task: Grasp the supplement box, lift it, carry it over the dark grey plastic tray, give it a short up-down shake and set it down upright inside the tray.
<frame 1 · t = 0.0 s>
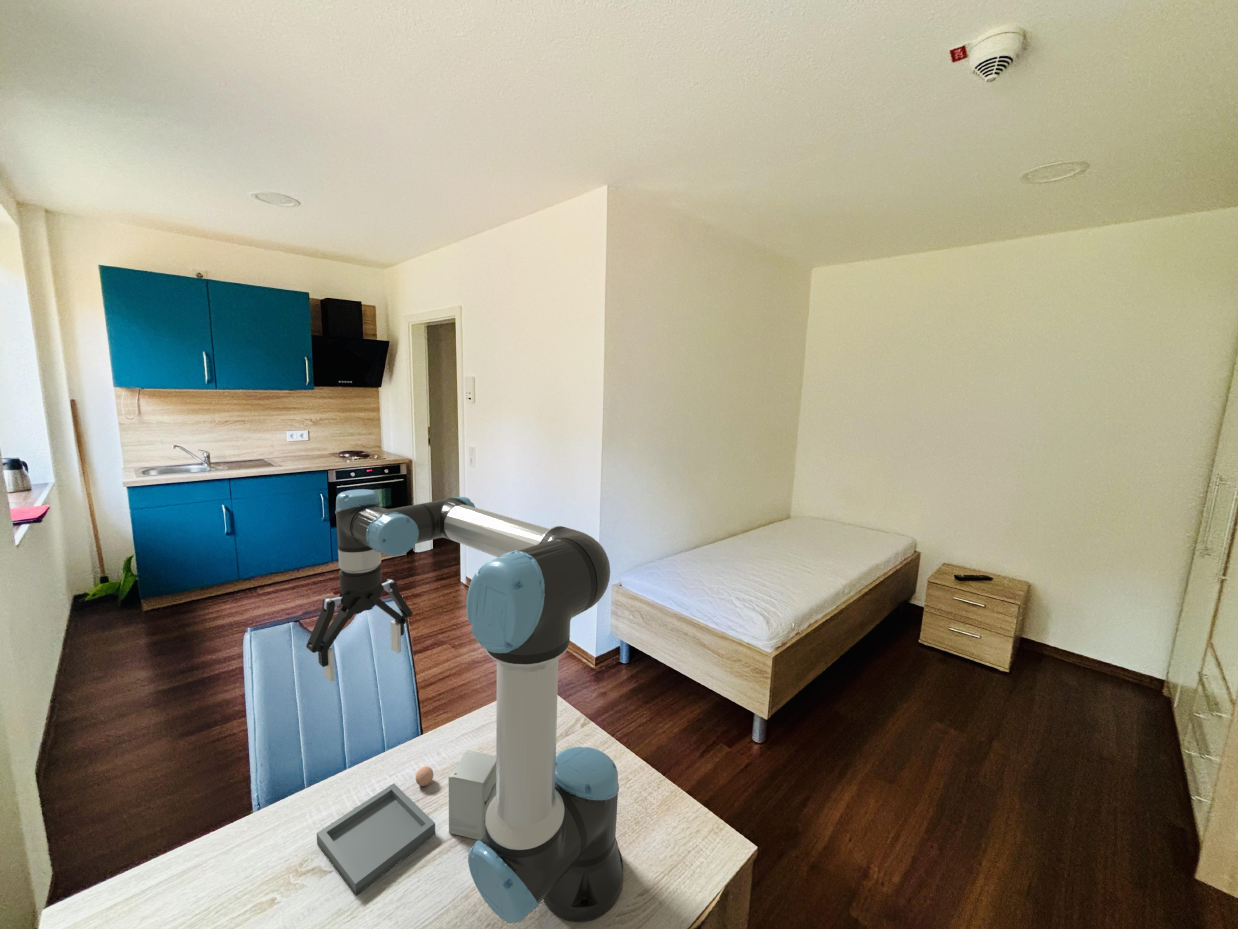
hand: (364, 664, 101), 28 cm above the table, fingers open, 13 cm apart
supplement box: (474, 822, 98), on the table
mixing ball: (424, 783, 106), on the table
tray: (377, 839, 93), on the table
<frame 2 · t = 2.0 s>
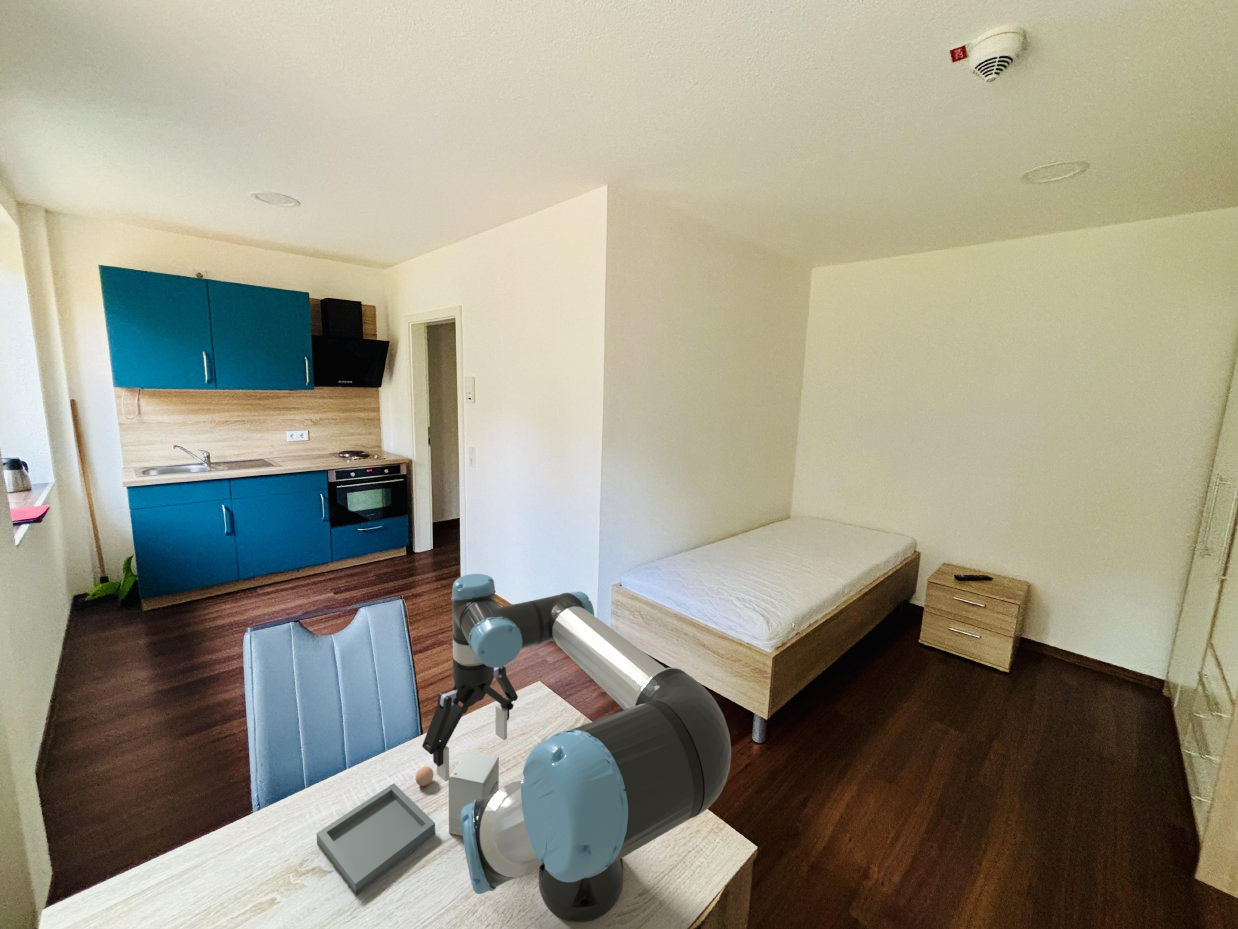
hand: (473, 755, 96), 15 cm above the table, fingers open, 13 cm apart
nothing on the table moved.
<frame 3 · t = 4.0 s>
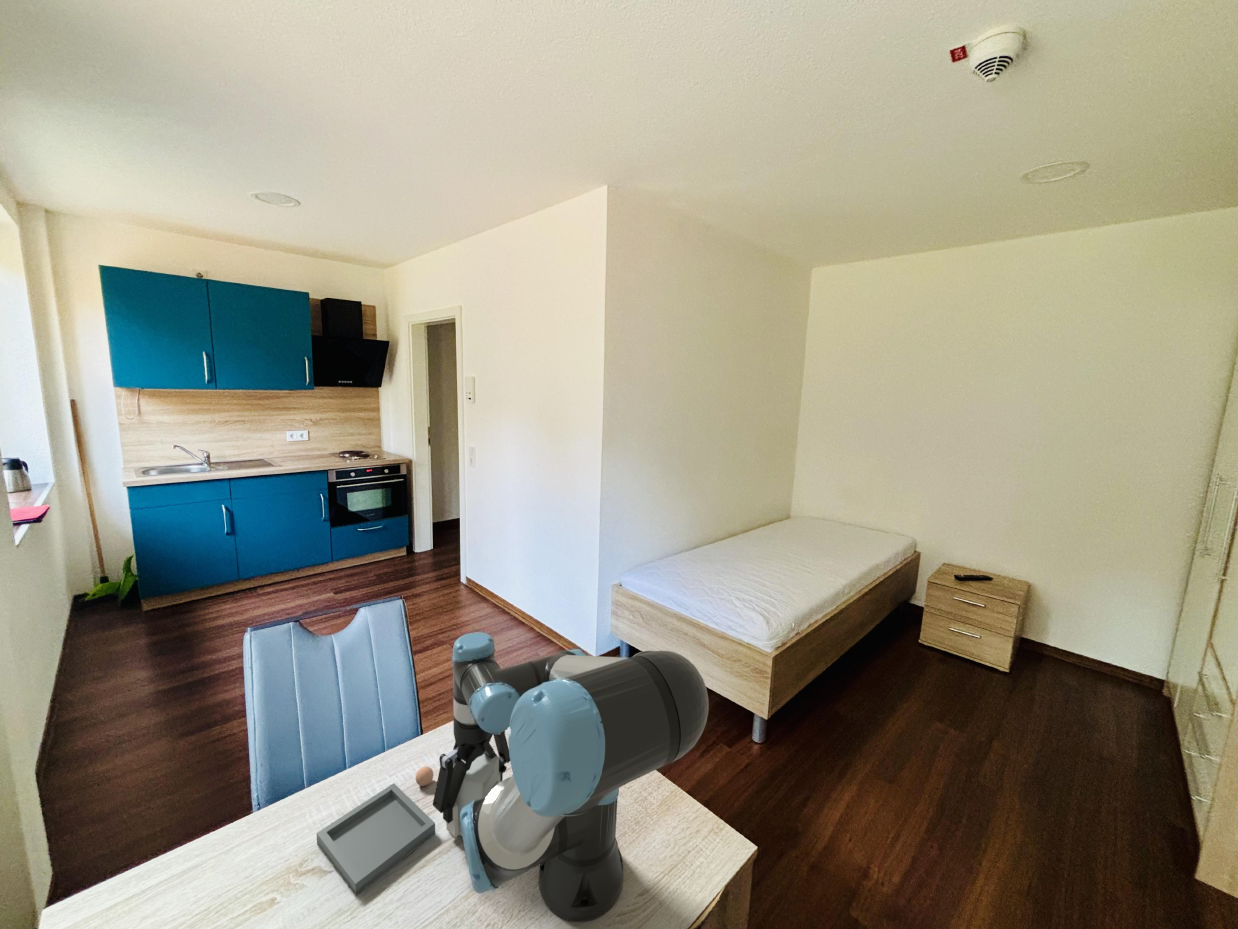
hand: (474, 814, 98), 2 cm above the table, fingers closed on supplement box, 9 cm apart
supplement box: (474, 822, 98), on the table, touching gripper
everything else where it was.
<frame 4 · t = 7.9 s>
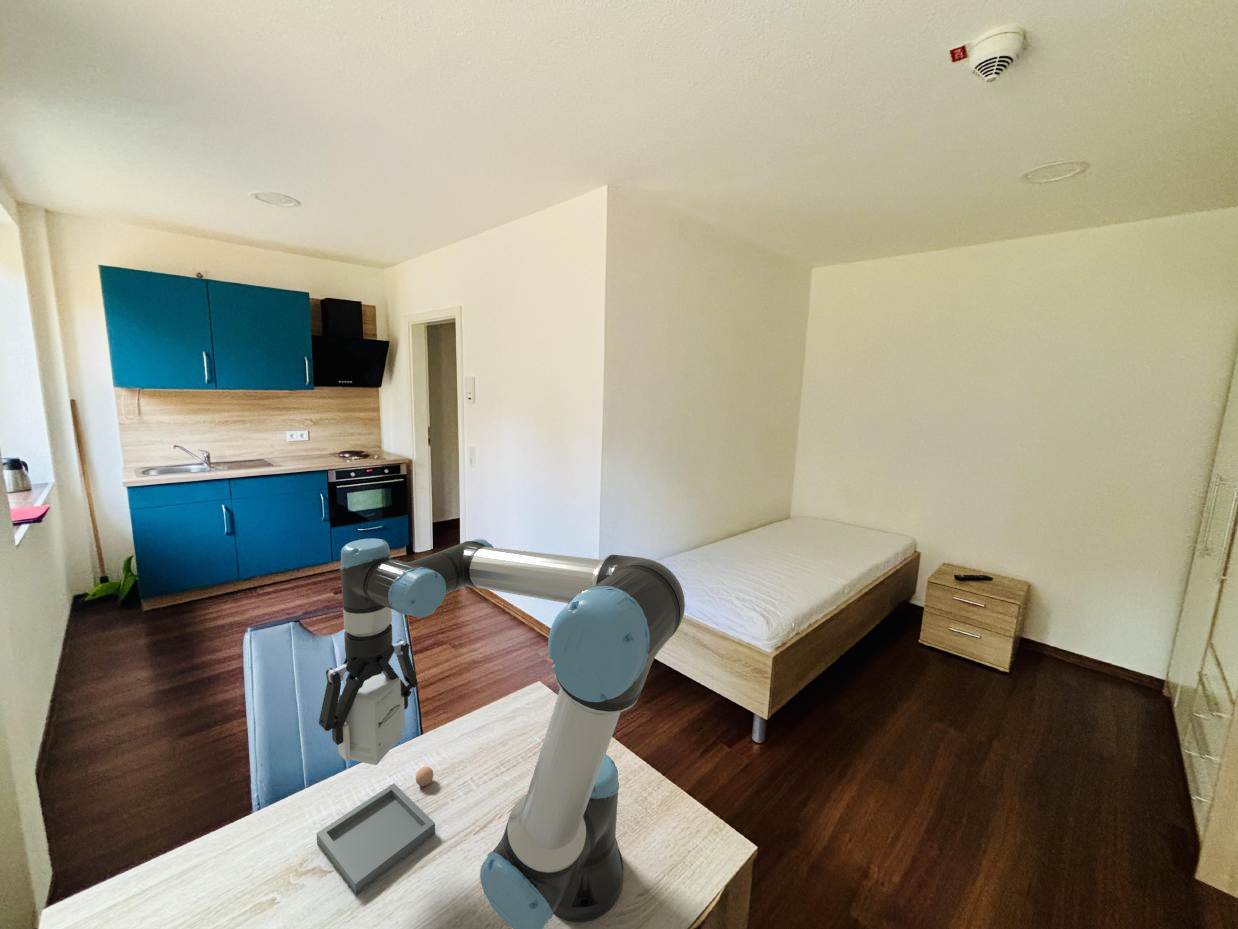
hand: (373, 740, 90), 21 cm above the table, fingers closed on supplement box, 9 cm apart
supplement box: (373, 748, 90), point 19 cm above the table, touching gripper
everything else where it was.
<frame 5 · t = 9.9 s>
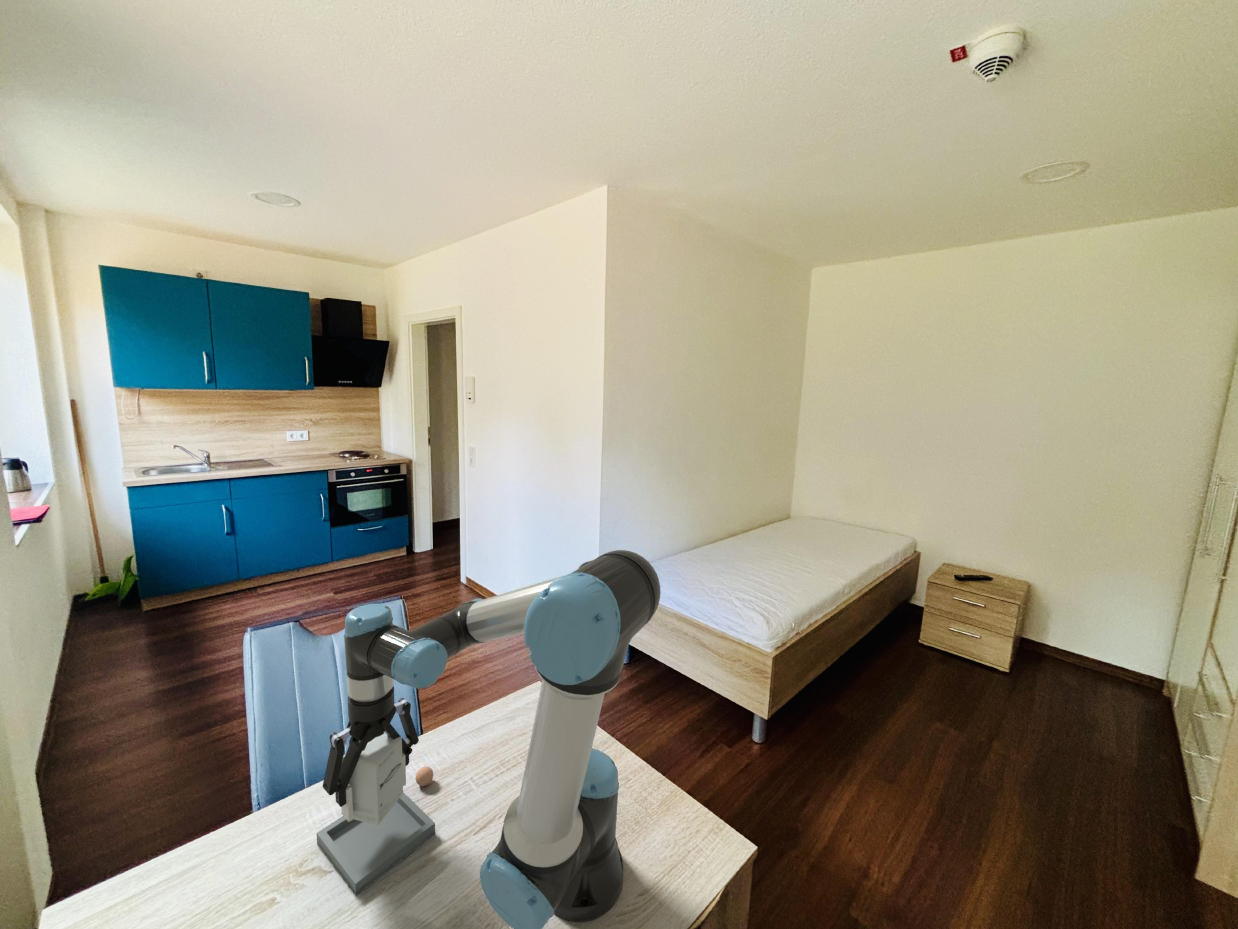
hand: (375, 798, 92), 9 cm above the table, fingers closed on supplement box, 9 cm apart
supplement box: (375, 806, 92), point 7 cm above the table, touching gripper
everything else where it was.
when the fingers open (4 cm above the table, at t = 11.8 s): supplement box drops 1 cm, resting on tray.
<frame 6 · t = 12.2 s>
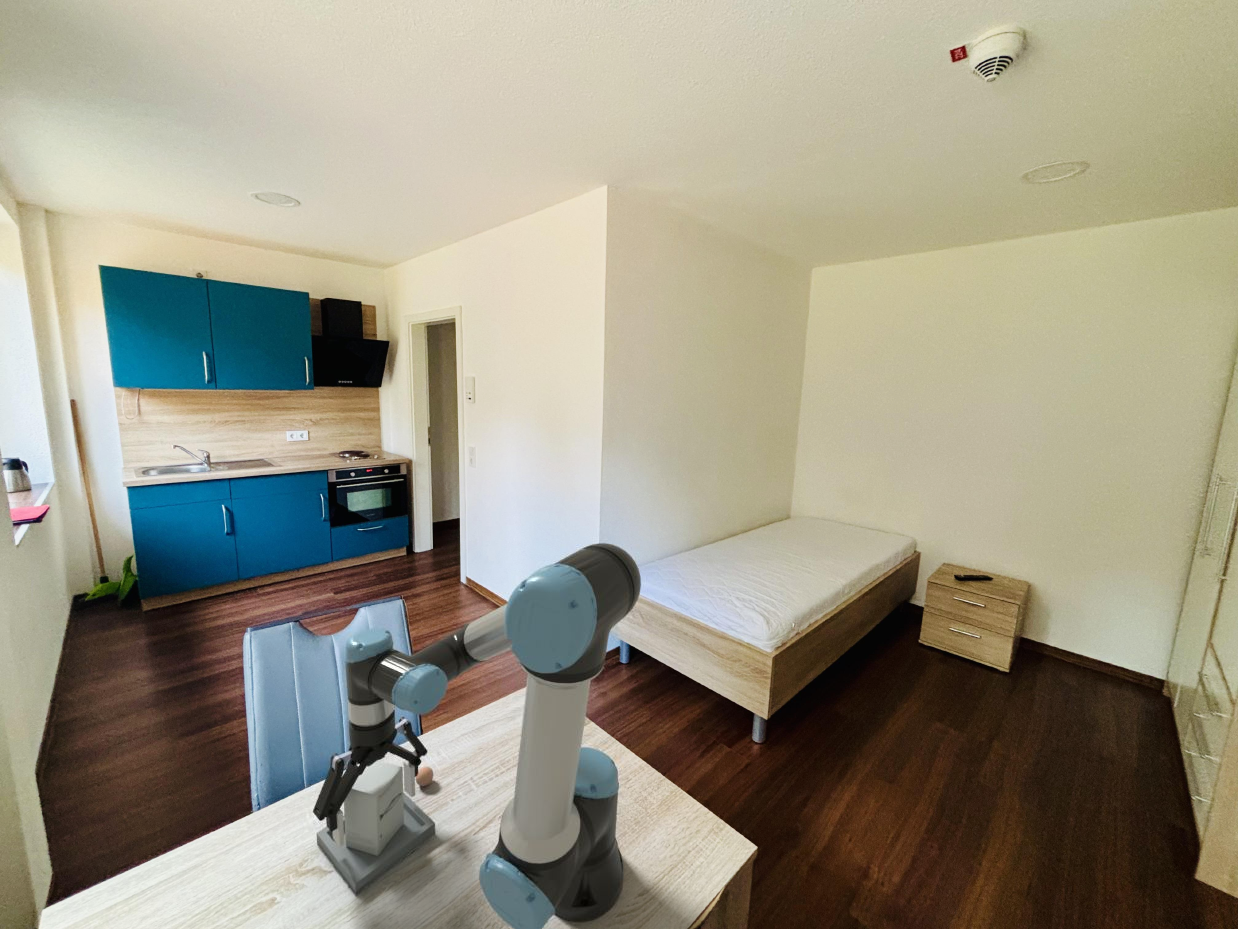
hand: (376, 815, 92), 5 cm above the table, fingers open, 13 cm apart
supplement box: (375, 835, 93), point 1 cm above the table, touching tray
everything else where it was.
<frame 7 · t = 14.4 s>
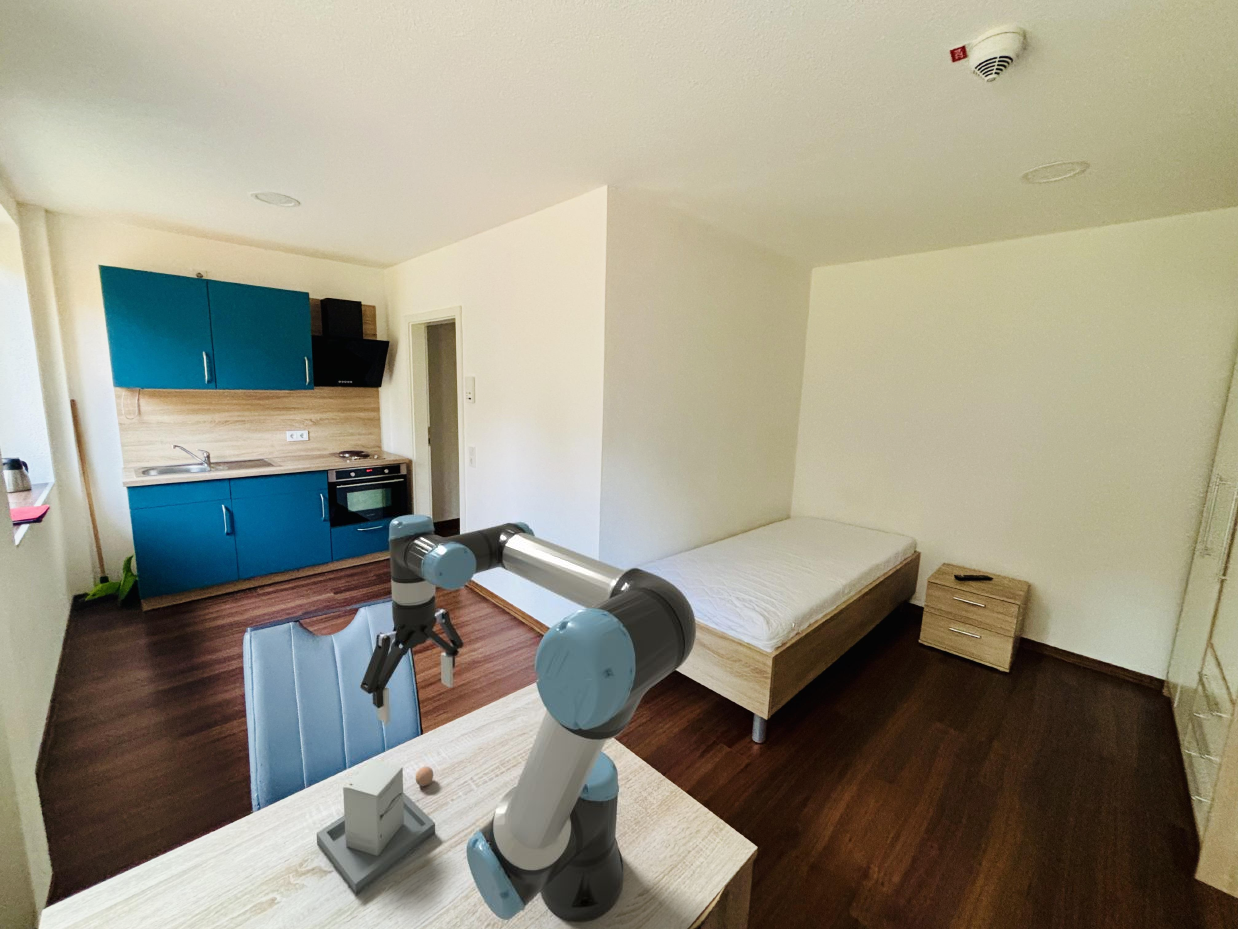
hand: (417, 701, 95), 25 cm above the table, fingers open, 13 cm apart
nothing on the table moved.
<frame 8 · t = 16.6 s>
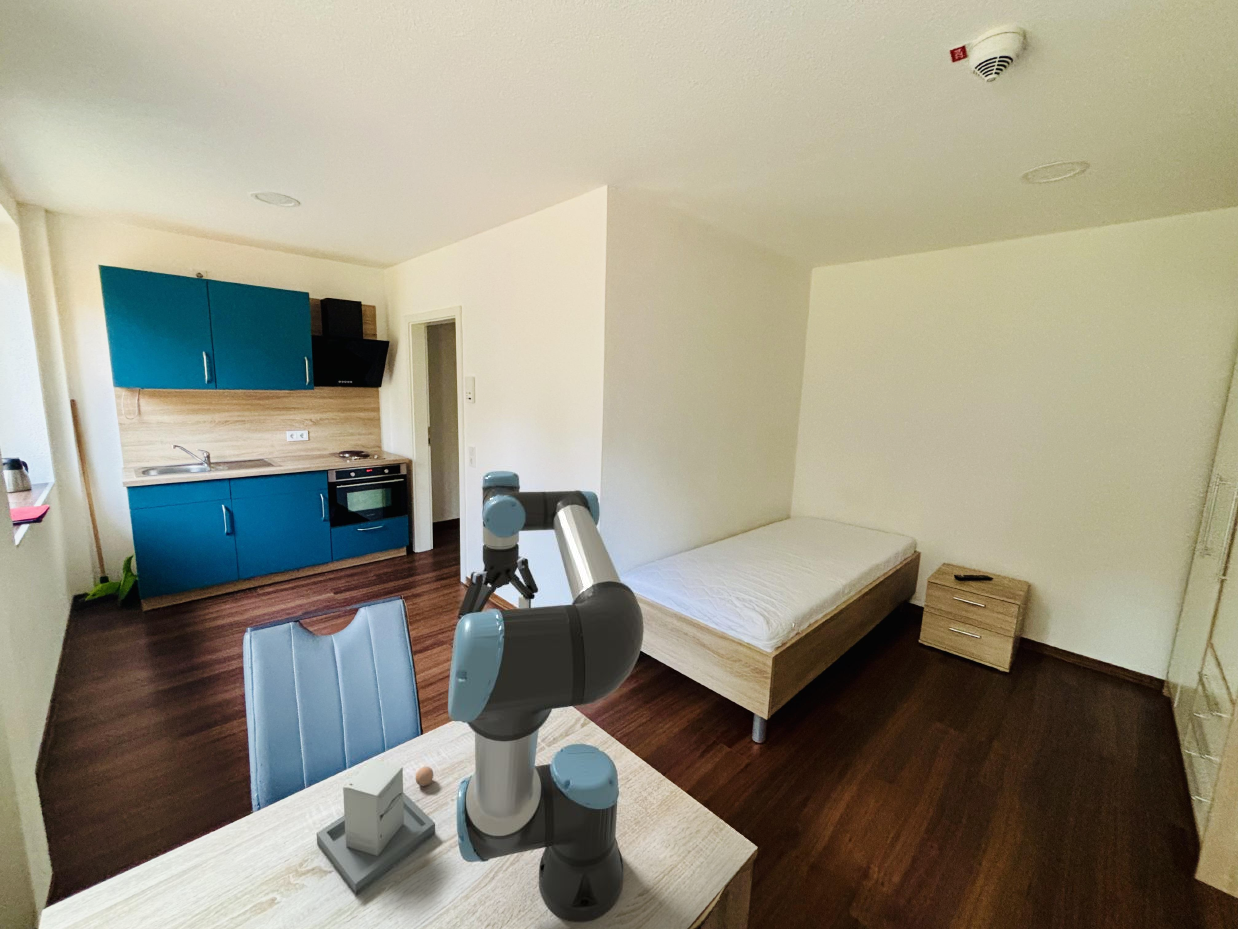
hand: (500, 636, 108), 32 cm above the table, fingers open, 13 cm apart
nothing on the table moved.
at the end: supplement box inside the target area on the tray (0.2 cm from its centre), point 0.8 cm above the tray's base; supplement box tilted 0°; the gripper is holding nothing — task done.
